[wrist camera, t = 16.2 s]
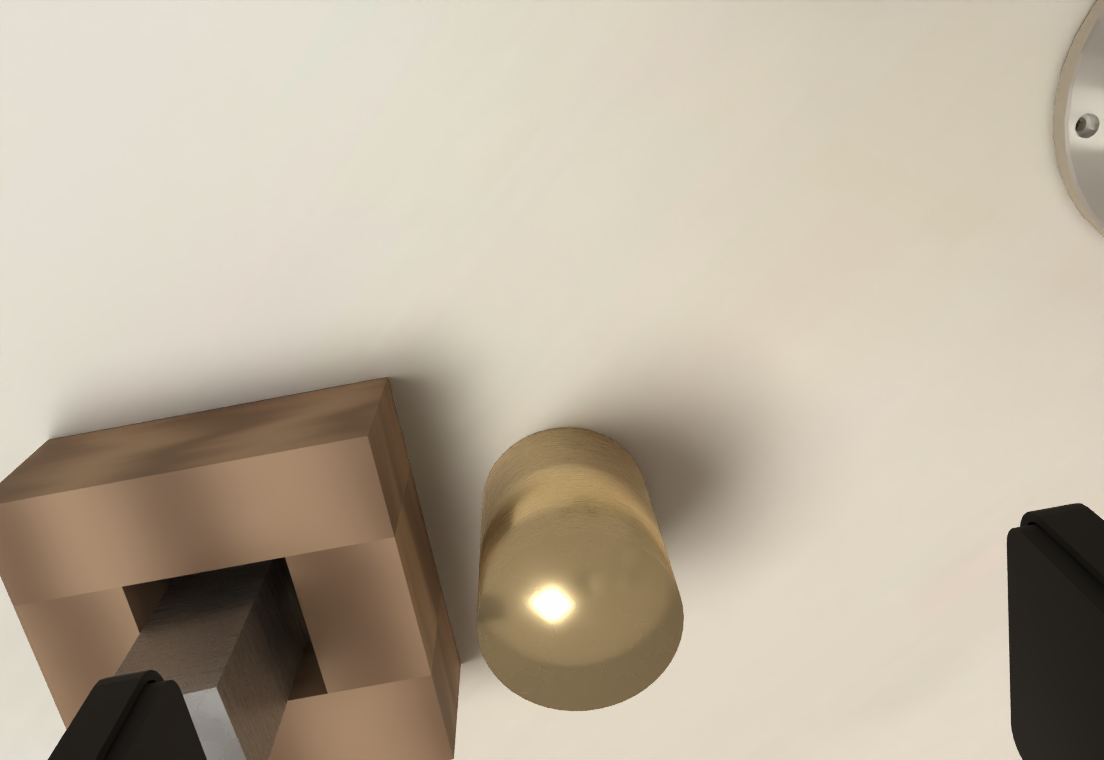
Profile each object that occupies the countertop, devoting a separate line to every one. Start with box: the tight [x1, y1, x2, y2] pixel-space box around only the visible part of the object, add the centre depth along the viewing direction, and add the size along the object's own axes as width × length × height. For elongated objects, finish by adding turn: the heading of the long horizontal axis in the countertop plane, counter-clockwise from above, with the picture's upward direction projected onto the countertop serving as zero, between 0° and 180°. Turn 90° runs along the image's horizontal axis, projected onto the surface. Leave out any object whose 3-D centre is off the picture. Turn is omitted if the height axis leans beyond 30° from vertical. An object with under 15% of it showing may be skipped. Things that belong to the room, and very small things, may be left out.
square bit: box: [114, 557, 309, 760], centre depth 36 cm, size 4×4×12 cm
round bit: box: [477, 428, 684, 711], centre depth 37 cm, size 7×7×9 cm
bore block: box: [0, 377, 461, 760], centre depth 39 cm, size 14×14×6 cm
